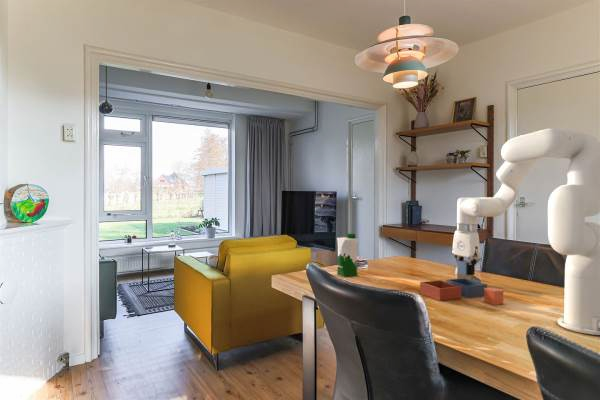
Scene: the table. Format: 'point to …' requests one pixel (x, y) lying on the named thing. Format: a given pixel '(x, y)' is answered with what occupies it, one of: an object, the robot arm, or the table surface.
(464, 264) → the slate block
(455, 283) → the slate bin
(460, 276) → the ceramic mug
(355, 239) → the milk carton
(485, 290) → the terracotta block
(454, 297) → the terracotta bin
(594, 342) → the table surface
